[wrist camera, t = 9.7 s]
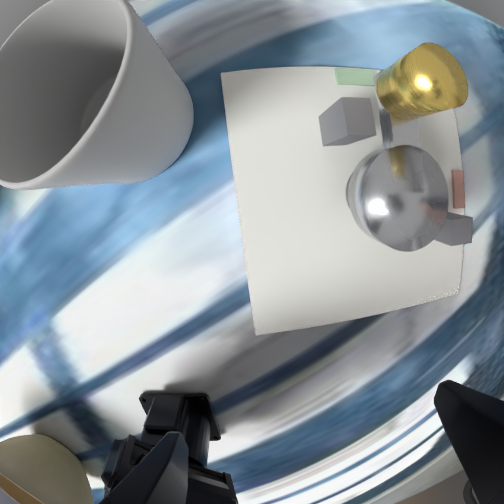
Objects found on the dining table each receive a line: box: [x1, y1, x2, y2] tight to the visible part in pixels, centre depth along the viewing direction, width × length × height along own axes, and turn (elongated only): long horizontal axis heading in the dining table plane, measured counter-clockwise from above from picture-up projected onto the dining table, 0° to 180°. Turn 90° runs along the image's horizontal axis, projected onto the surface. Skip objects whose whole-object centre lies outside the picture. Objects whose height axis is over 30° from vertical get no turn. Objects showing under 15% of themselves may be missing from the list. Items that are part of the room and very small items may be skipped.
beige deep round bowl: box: [0, 434, 94, 504], centre depth 20 cm, size 18×18×12 cm
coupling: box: [348, 43, 468, 252], centre depth 11 cm, size 10×6×6 cm, turn 5°
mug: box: [0, 0, 194, 190], centre depth 11 cm, size 12×8×11 cm
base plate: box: [221, 66, 473, 335], centre depth 16 cm, size 18×18×5 cm
